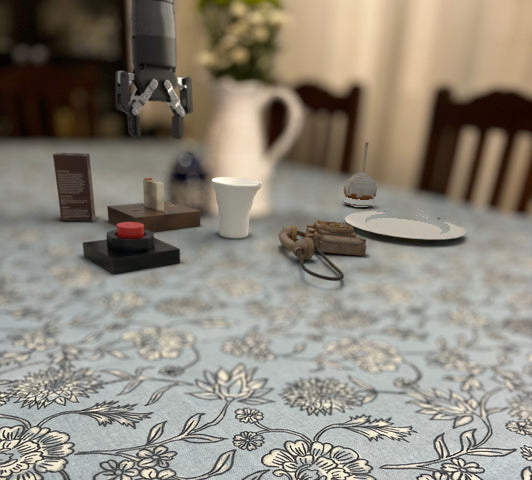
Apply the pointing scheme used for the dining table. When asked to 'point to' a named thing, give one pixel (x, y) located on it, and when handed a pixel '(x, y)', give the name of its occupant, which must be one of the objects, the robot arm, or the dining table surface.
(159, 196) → the cream slab
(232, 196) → the cup
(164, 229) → the panel
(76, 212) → the box
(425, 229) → the plate
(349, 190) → the grey candy apple
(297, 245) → the telephone
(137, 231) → the button
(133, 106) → the robot arm
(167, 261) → the housing
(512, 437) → the dining table surface
